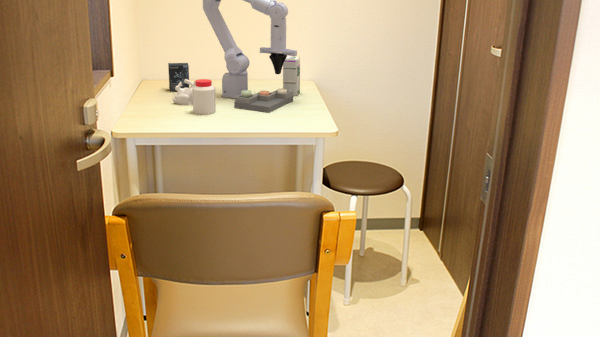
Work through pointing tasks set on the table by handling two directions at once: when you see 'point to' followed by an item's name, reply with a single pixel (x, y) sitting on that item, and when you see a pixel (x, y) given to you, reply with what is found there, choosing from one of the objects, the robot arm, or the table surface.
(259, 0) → the robot arm
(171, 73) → the box
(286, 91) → the button cream
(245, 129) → the table surface
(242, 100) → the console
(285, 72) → the syrup box
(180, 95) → the rabbit figurine
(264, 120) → the table surface
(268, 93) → the button terracotta
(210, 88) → the pill bottle
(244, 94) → the button sage
